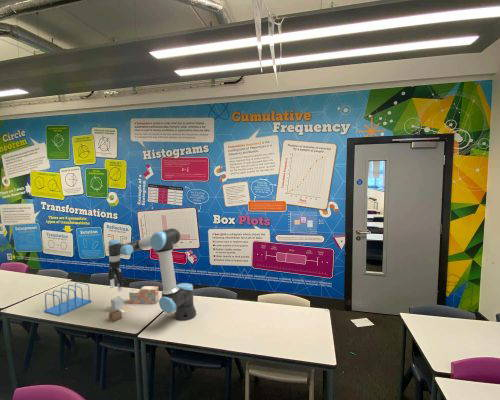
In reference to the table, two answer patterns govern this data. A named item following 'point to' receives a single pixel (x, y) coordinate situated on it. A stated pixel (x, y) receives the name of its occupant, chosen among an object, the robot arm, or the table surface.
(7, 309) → the table surface
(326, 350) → the table surface
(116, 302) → the grey block
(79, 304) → the file sorter
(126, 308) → the envelope
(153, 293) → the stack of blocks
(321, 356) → the table surface
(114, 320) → the walnut cube
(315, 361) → the table surface
